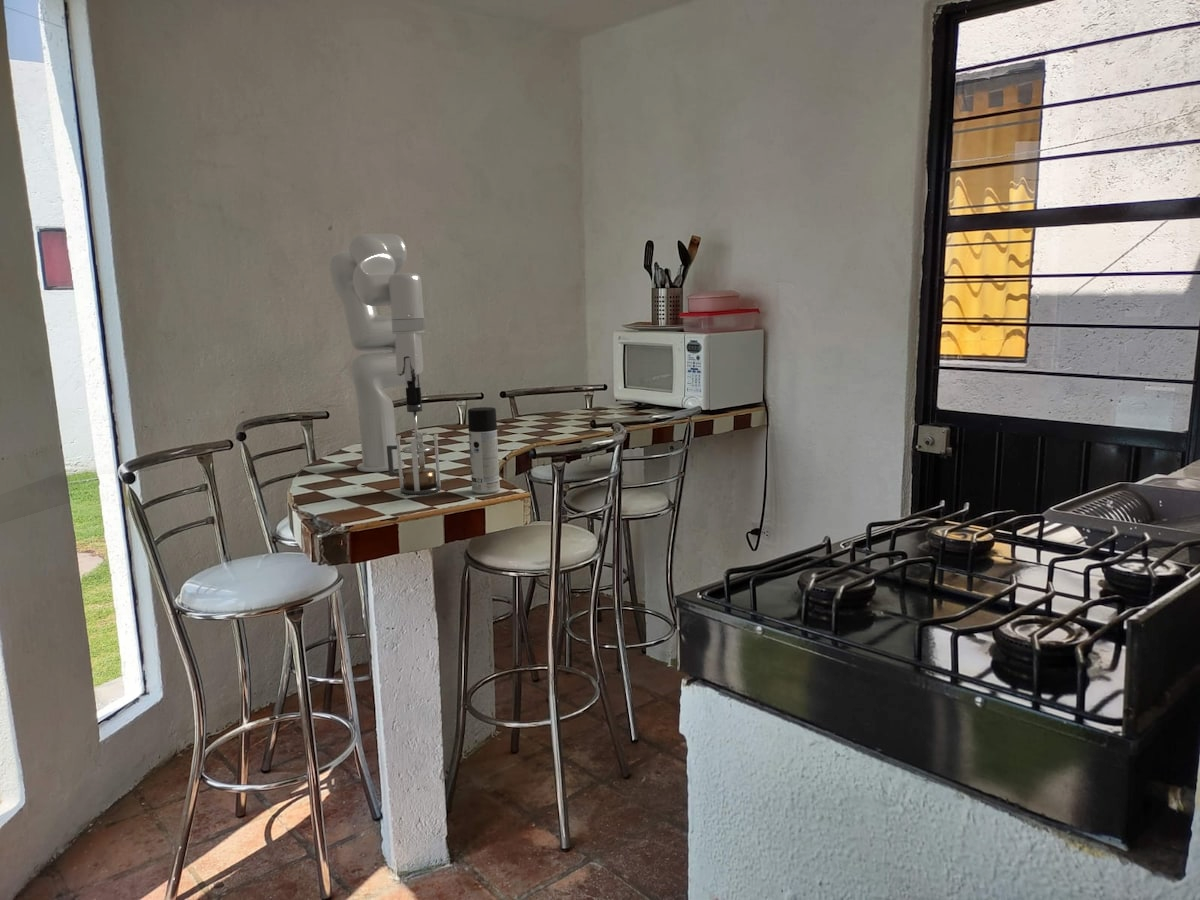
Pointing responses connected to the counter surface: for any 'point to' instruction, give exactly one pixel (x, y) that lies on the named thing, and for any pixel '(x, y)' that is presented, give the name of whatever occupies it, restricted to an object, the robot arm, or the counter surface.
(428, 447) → the coffee press plunger
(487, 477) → the spray can
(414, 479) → the cafetera
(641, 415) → the counter surface
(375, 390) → the robot arm
